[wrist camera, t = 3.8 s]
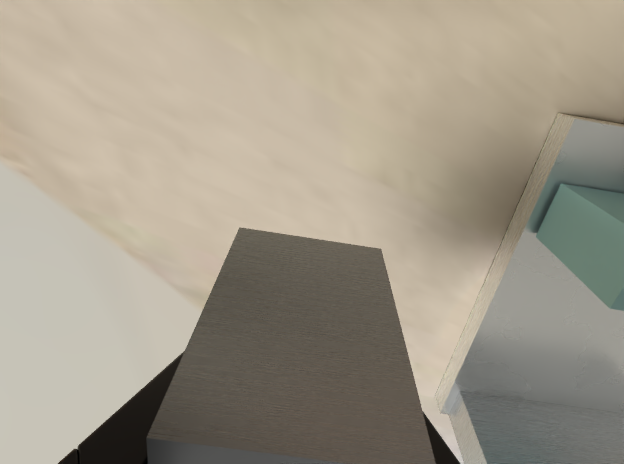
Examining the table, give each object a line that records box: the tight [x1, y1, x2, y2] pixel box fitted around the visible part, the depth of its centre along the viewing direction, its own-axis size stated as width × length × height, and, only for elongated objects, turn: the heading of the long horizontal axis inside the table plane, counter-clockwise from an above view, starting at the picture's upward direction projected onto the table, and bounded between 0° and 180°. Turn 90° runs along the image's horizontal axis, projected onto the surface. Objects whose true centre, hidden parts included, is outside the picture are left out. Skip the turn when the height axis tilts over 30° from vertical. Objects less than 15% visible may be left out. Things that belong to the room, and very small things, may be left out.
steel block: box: [146, 228, 436, 464], centre depth 8 cm, size 4×5×6 cm
